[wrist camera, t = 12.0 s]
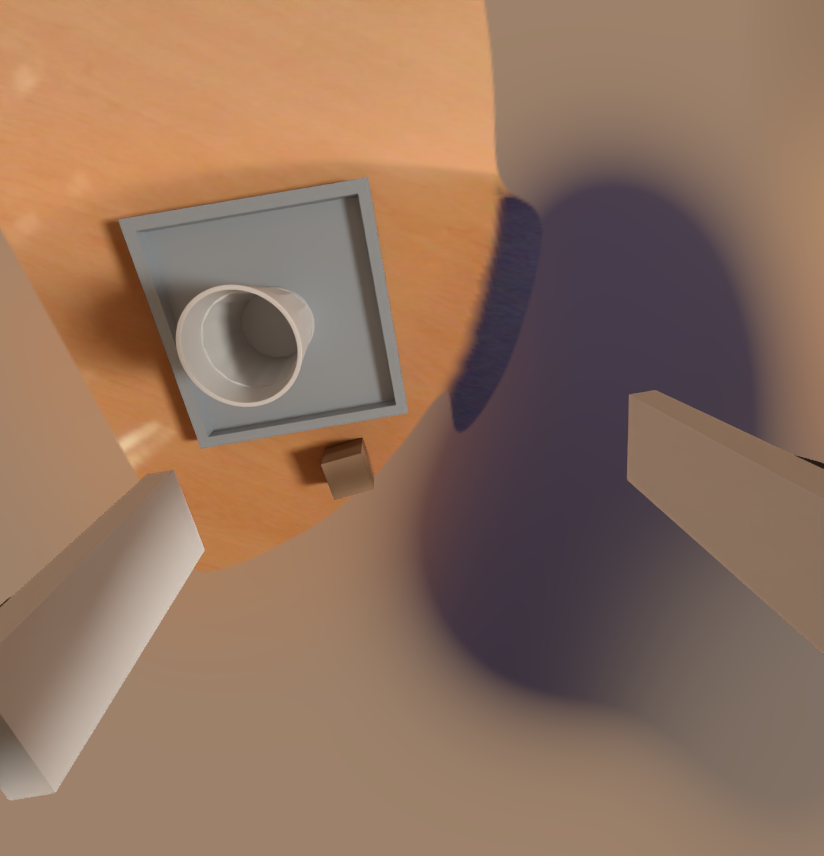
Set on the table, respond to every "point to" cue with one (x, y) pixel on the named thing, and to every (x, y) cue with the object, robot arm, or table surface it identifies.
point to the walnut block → (348, 468)
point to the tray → (290, 268)
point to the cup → (244, 342)
